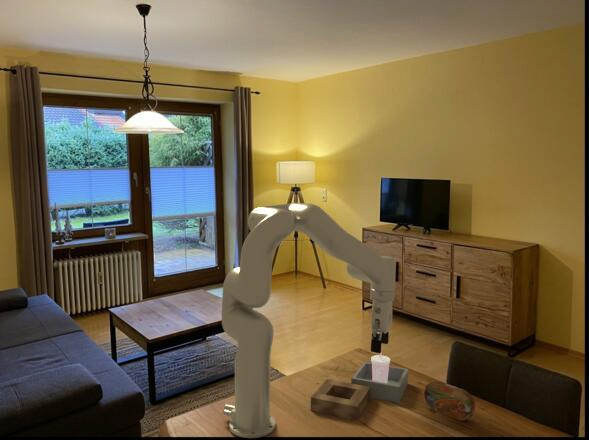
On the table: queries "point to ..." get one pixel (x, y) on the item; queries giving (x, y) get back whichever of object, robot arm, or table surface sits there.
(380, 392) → the tray
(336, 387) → the holder block
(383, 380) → the beverage cup
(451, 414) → the tin
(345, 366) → the table surface
